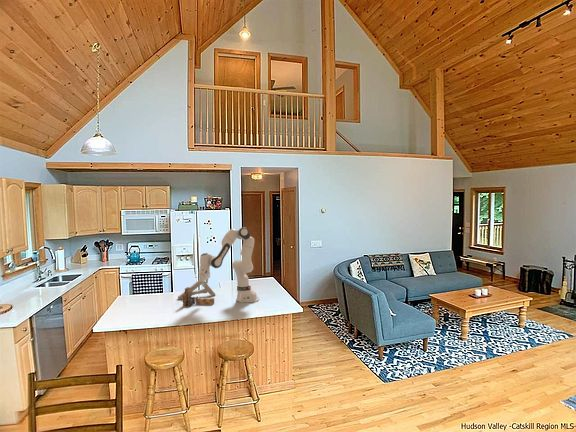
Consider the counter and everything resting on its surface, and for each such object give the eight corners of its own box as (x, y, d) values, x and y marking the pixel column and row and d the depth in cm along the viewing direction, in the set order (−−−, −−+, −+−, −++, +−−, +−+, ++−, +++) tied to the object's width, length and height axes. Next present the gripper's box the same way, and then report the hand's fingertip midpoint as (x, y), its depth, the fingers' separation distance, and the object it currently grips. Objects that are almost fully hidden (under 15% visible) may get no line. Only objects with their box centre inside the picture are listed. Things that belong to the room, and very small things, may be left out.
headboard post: (196, 301, 323) (195, 285, 322) (190, 307, 307) (189, 290, 306) (189, 301, 323) (189, 285, 323) (183, 307, 307) (182, 290, 307)
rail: (214, 303, 318) (214, 296, 318) (213, 304, 314) (213, 297, 314) (197, 303, 319) (197, 296, 319) (196, 304, 316) (195, 297, 316)
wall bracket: (191, 312, 340) (215, 293, 347) (191, 314, 336) (215, 294, 343) (177, 296, 335) (202, 277, 342) (177, 298, 331) (202, 278, 338)
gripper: (205, 268, 326) (205, 282, 327) (197, 272, 306) (198, 287, 307) (211, 268, 326) (211, 282, 326) (204, 272, 305) (204, 287, 306)
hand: (205, 284), depth 316 cm, fingers open, 8 cm apart
